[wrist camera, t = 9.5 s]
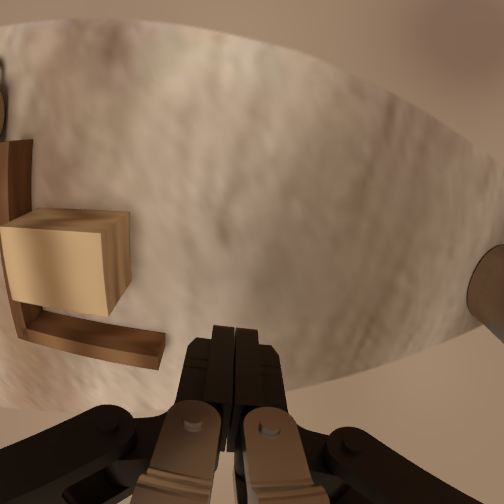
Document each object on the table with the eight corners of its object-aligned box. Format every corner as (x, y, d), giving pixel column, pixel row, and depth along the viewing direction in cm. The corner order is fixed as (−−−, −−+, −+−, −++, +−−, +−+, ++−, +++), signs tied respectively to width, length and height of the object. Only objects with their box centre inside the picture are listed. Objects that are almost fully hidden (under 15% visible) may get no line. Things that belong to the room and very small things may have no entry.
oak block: (129, 211, 23) (100, 233, 18) (131, 280, 25) (108, 316, 20) (39, 207, 23) (-1, 226, 17) (46, 270, 25) (12, 300, 19)
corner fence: (176, 142, 22) (167, 143, 18) (165, 346, 28) (158, 370, 24) (20, 140, 20) (-4, 142, 17) (34, 320, 26) (18, 338, 23)
